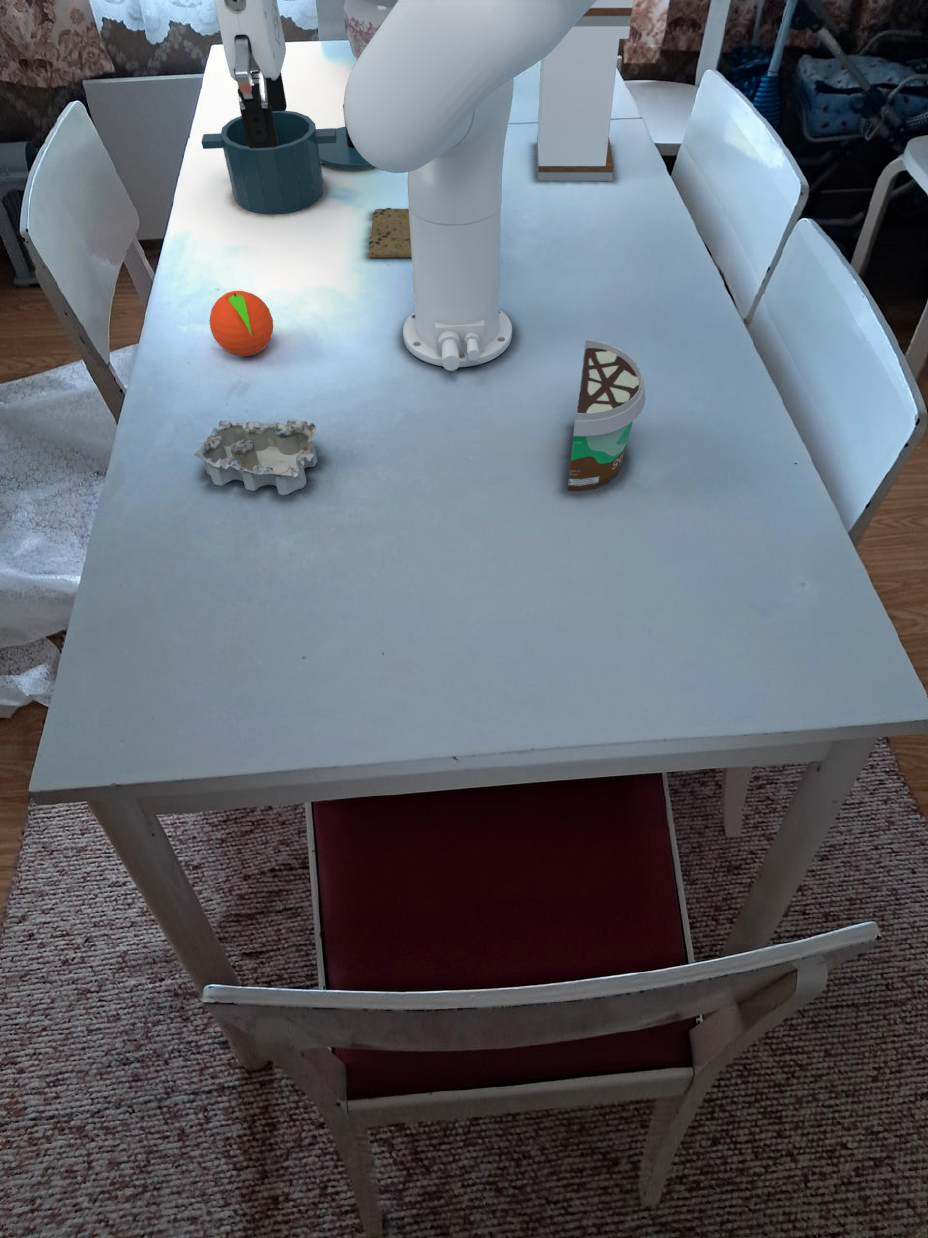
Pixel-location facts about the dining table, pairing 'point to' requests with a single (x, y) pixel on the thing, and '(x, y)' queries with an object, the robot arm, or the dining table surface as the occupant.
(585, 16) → the striped white pillar
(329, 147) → the pot lid
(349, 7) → the soup tureen
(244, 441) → the egg carton
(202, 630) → the dining table surface
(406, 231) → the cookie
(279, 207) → the pot
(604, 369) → the food container
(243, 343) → the clementine
